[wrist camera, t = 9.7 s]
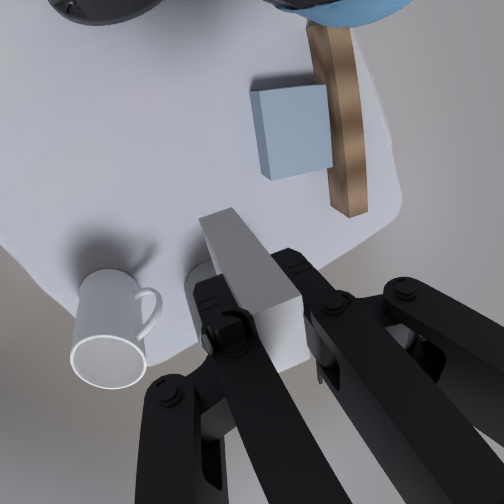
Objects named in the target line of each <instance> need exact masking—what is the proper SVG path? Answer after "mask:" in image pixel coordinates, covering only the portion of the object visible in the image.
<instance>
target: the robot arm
mask: <svg viewBox="0 0 504 504" xmlns="http://www.w3.org/2000/svg"><path fill="white" fill-rule="evenodd" d="M48 1H49V3H50V4H51V6H52V7H53V8H54V9H55V10H56V11H57V12H58V13H59V14H60V15H62V16H63V17H65V18H66V19H68V20H70V21H73V22H75V23H79V24H83V25H91V26H103V25H111V24H116V23H121V22H124V21H127V20H130V19H133V18H135V17H137V16H140V15H142V14H144V13H145V12H147V11H149V10H150V9H152V8H153V7H155V6H156V5H158V4H159V3H160V2H161V1H162V0H48ZM264 1H266V2H268V3H271V4H272V5H274V6H275V7H276V8H277V9H279V10H282V11H284V12H289V13H296V14H298V15H300V16H303V17H305V18H307V19H309V20H312V21H314V22H316V23H318V24H321V25H324V26H327V27H333V28H340V27H351V28H352V27H358V26H363V25H366V24H370V23H373V22H375V21H378V20H380V19H383V18H385V17H387V16H389V15H391V14H393V13H394V12H396V11H398V10H399V9H401V8H402V7H404V6H405V5H407V4H408V3H409V2H411V1H412V0H264ZM199 222H200V225H201V228H202V231H203V234H204V237H205V240H206V243H207V246H208V250H209V253H210V256H211V259H212V262H213V265H214V268H215V271H216V273H217V276H214V277H211V278H209V279H206V280H203V281H200V282H198V283H196V284H195V287H194V291H193V297H194V300H195V303H196V306H197V310H198V312H199V316H200V319H201V322H202V327H201V336H202V338H203V340H204V342H205V345H206V347H207V349H208V351H209V352H208V355H207V358H206V360H205V361H204V362H203V364H202V365H201V366H200V367H198V368H197V369H196V370H195V371H194V372H192V373H191V374H189V375H187V376H186V377H185V376H183V375H180V374H168V375H165V376H161V377H160V378H158V379H157V380H155V381H154V382H153V383H152V384H151V385H150V386H149V388H148V389H147V392H146V395H145V398H144V406H143V414H142V423H141V431H140V440H139V450H138V463H137V474H136V488H135V504H229V499H228V487H227V473H226V459H225V442H224V435H225V434H227V433H228V432H229V431H231V430H232V429H233V428H234V427H236V426H237V428H238V431H239V434H240V436H241V439H242V441H243V444H244V446H245V448H246V451H247V453H248V456H249V458H250V461H251V463H252V466H253V468H254V470H255V473H256V475H257V478H258V480H259V482H260V484H261V487H262V489H263V491H264V494H265V496H266V498H267V500H268V503H269V504H352V502H351V500H350V499H349V497H348V495H347V494H346V492H345V491H344V489H343V487H342V486H341V484H340V482H339V480H338V479H337V477H336V476H335V473H334V472H333V470H332V468H331V467H330V465H329V463H328V461H327V460H326V458H325V456H324V455H323V453H322V451H321V449H320V448H319V446H318V444H317V443H316V441H315V439H314V437H313V435H312V433H311V432H310V430H309V428H308V427H307V425H306V423H305V421H304V419H303V418H302V416H301V414H300V412H299V410H298V409H297V407H296V405H295V403H294V401H293V400H292V398H291V396H290V394H289V392H288V390H287V389H286V387H285V385H284V383H283V381H282V379H281V378H280V376H279V374H278V373H279V372H281V371H284V370H286V369H288V368H291V367H293V366H295V365H298V364H300V363H302V362H304V361H306V360H309V359H310V353H309V349H310V351H311V352H312V354H313V355H314V357H315V358H316V366H317V375H318V381H319V384H322V383H323V380H322V378H323V379H324V381H325V382H326V383H327V385H328V387H329V388H330V390H331V391H332V393H333V394H334V396H335V397H336V399H337V400H338V402H339V403H340V405H341V406H342V408H343V410H344V411H345V413H346V414H347V416H348V417H349V419H350V420H351V422H352V423H353V425H354V426H355V428H356V429H357V431H358V432H359V434H360V435H361V437H362V438H363V440H364V441H365V443H366V444H367V446H368V447H369V449H370V451H371V452H372V453H373V455H374V457H375V458H376V460H377V461H378V463H379V464H380V466H381V467H382V468H383V470H384V472H385V473H386V474H387V476H388V477H389V479H390V481H391V482H392V484H393V485H394V486H395V488H396V489H397V491H398V492H399V494H400V495H401V497H402V498H403V500H404V501H405V503H406V504H504V463H503V462H502V461H501V460H500V458H499V457H498V456H497V455H496V453H495V452H494V451H493V450H492V449H491V447H490V446H489V445H488V444H487V443H486V441H485V440H484V439H483V438H482V437H481V435H480V434H479V433H478V432H477V431H476V430H475V428H477V429H478V430H480V431H481V432H482V433H484V434H485V435H487V436H488V437H490V438H491V439H492V440H494V441H495V442H497V443H498V444H500V445H501V446H502V447H504V327H503V326H501V325H499V324H498V323H496V322H494V321H492V320H491V319H489V318H487V317H485V316H484V315H481V314H480V313H478V312H476V311H475V310H473V309H471V308H469V307H467V306H466V305H464V304H462V303H460V302H458V301H456V300H455V299H453V298H451V297H449V296H447V295H445V294H444V293H441V292H440V291H438V290H436V289H434V288H432V287H430V286H429V285H427V284H425V283H423V282H421V281H419V280H417V279H414V278H411V277H398V278H394V279H392V280H390V281H388V282H387V284H386V285H385V286H384V291H383V294H381V295H376V296H371V297H366V298H355V297H354V296H353V295H351V294H350V293H349V292H345V291H342V290H335V289H334V288H333V287H332V286H331V285H330V283H329V282H328V281H327V280H326V279H325V278H324V277H323V276H322V275H321V274H320V273H319V272H318V271H317V270H316V269H315V268H314V267H313V266H312V264H311V263H310V262H309V261H307V259H306V258H305V257H304V256H303V255H302V254H301V253H300V252H298V251H295V250H293V249H290V248H286V249H284V250H281V251H278V252H276V253H273V254H269V253H268V252H267V250H266V249H265V248H264V247H263V245H262V244H261V243H260V242H259V240H258V239H257V238H256V237H255V235H254V234H253V233H252V232H251V230H250V229H249V228H248V227H247V225H246V224H245V223H244V222H243V220H242V219H241V218H240V217H239V215H238V214H237V213H236V212H235V210H234V209H233V208H232V207H231V208H228V209H225V210H222V211H219V212H217V213H214V214H211V215H208V216H205V217H202V218H199ZM419 335H420V336H419ZM421 336H422V337H421ZM473 426H474V427H475V428H474V427H473Z"/></svg>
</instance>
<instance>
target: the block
mask: <svg viewBox="0 0 504 504" xmlns="http://www.w3.org/2000/svg"><path fill="white" fill-rule="evenodd" d="M249 93H250V99H251V106H252V112H253V119H254V126H255V133H256V139H257V146H258V153H259V160H260V167H261V174H262V175H264V176H265V177H267V178H268V179H270V180H271V181H272V180H276V179H281V178H285V177H289V176H294V175H298V174H303V173H307V172H312V171H317V170H321V169H326V168H331V167H333V161H332V146H331V133H330V120H329V109H328V99H327V90H326V85H320V84H311V85H300V86H290V87H280V88H272V89H264V90H257V91H250V92H249Z"/></svg>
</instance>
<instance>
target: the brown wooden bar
mask: <svg viewBox="0 0 504 504" xmlns="http://www.w3.org/2000/svg"><path fill="white" fill-rule="evenodd" d="M306 31H307V36H308V41H309V46H310V51H311V57H312V63H313V68H314V74H315V80H316V84H320V85H326V90H327V99H328V109H329V120H330V133H331V146H332V161H333V167H331V168H327V171H328V180H329V191H330V202H331V206H332V207H333V208H335V209H336V210H338V211H339V212H341V213H342V214H344V215H345V216H347V217H348V218H351V217H354V216H357V215H360V214H363V213H365V212H368V202H367V176H366V158H365V144H364V132H363V121H362V111H361V102H360V94H359V86H358V78H357V71H356V64H355V58H354V52H353V46H352V40H351V34H350V29H349V27H340V28H333V27H327V26H324V25H321V24H318V25H314V26H311V27H307V28H306Z"/></svg>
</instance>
